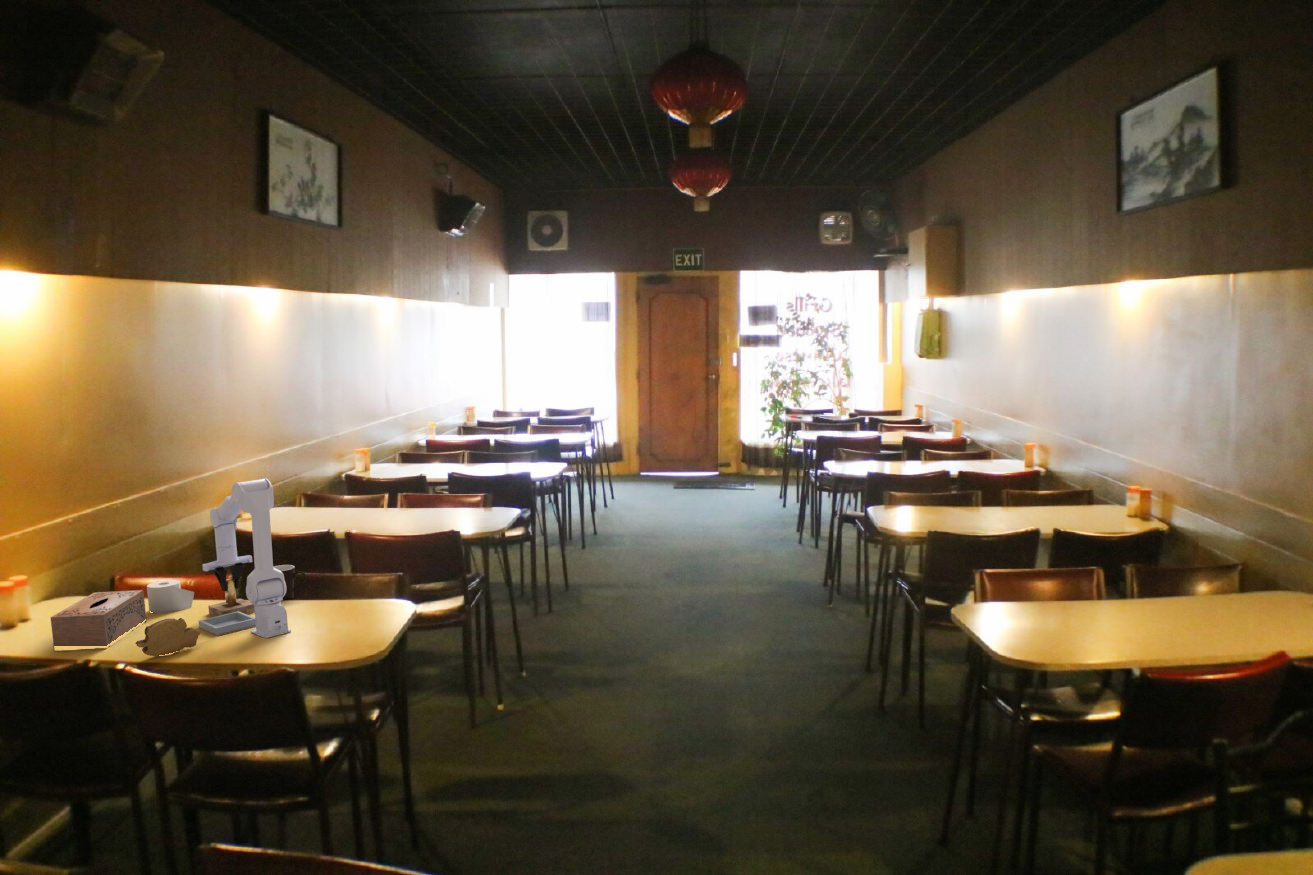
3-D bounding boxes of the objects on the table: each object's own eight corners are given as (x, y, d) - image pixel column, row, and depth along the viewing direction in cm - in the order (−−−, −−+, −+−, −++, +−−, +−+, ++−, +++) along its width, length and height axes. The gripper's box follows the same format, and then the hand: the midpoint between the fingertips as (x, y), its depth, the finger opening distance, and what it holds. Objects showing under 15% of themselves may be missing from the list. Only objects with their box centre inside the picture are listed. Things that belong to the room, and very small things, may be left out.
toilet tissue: (197, 609, 331) (194, 582, 330) (150, 616, 325) (147, 589, 324) (193, 602, 339) (191, 576, 338) (148, 609, 332) (145, 583, 331)
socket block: (255, 613, 323) (254, 604, 323) (223, 621, 316) (222, 611, 316) (241, 607, 330) (240, 598, 330) (209, 615, 323) (208, 605, 323)
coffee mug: (262, 600, 338) (260, 570, 337) (283, 593, 345) (281, 564, 344) (289, 604, 332) (286, 573, 331) (309, 597, 340) (307, 567, 339)
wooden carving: (194, 644, 294) (191, 610, 293) (202, 647, 291) (199, 612, 290) (134, 661, 282) (130, 624, 281) (141, 664, 279) (138, 627, 278)
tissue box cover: (107, 649, 294) (103, 614, 293) (54, 652, 293) (50, 617, 292) (146, 622, 319) (143, 590, 318) (97, 624, 319) (94, 592, 317)
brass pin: (238, 601, 323) (236, 579, 322) (228, 603, 321) (226, 581, 320) (233, 600, 325) (231, 577, 324) (224, 602, 323) (222, 579, 322)
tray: (257, 626, 309) (256, 618, 309) (216, 636, 301) (215, 628, 301) (239, 619, 318) (238, 611, 317) (199, 629, 309) (198, 620, 309)
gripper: (243, 539, 329) (247, 582, 330) (196, 548, 318) (200, 592, 320) (253, 542, 324) (257, 585, 325) (206, 551, 313) (210, 596, 315)
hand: (230, 589), depth 322 cm, fingers closed on brass pin, 3 cm apart
